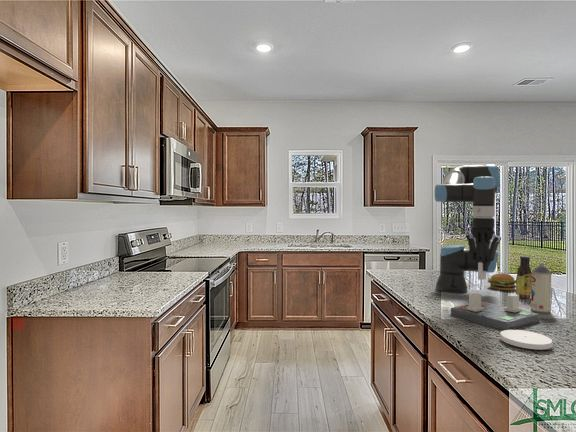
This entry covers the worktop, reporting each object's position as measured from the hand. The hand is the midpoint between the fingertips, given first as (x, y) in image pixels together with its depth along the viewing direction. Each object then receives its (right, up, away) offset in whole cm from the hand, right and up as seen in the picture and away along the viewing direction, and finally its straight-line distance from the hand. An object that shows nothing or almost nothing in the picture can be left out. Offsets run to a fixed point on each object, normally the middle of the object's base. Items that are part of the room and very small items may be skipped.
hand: (481, 279), depth 147 cm
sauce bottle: (+40, -16, +39) cm, 58 cm away
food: (+41, -15, +60) cm, 74 cm away
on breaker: (+13, -12, +2) cm, 18 cm away
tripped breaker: (-2, -12, +2) cm, 12 cm away
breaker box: (+6, -16, +2) cm, 17 cm away
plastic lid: (+1, -17, -26) cm, 31 cm away
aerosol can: (+31, -16, +14) cm, 38 cm away
